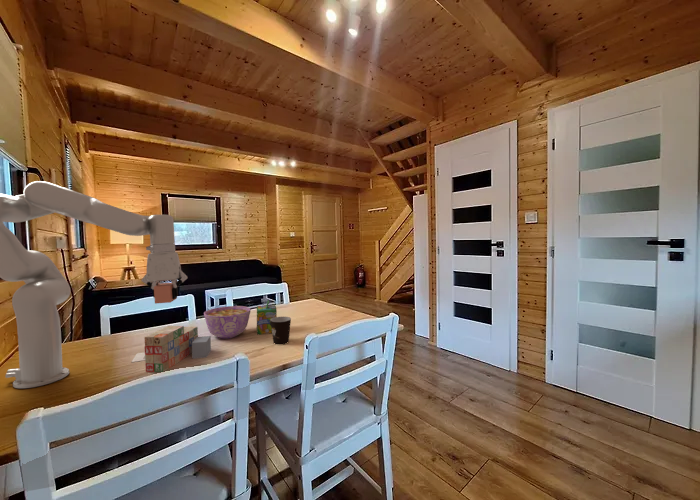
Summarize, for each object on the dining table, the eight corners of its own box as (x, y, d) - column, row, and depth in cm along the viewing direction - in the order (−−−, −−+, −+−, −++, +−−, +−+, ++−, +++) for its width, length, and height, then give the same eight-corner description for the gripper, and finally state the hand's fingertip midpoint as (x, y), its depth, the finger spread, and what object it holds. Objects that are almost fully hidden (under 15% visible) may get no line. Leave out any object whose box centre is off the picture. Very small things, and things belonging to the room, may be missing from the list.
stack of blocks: (184, 348, 123) (183, 319, 123) (198, 349, 123) (197, 319, 122) (145, 372, 102) (143, 336, 101) (162, 372, 101) (161, 336, 101)
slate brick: (192, 358, 113) (191, 342, 112) (197, 351, 120) (196, 336, 119) (206, 357, 114) (206, 341, 114) (210, 350, 121) (210, 335, 120)
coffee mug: (293, 344, 127) (292, 320, 127) (272, 346, 124) (271, 322, 124) (288, 335, 138) (287, 314, 138) (268, 338, 135) (268, 316, 134)
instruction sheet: (131, 362, 109) (131, 361, 109) (136, 353, 118) (136, 353, 118) (169, 356, 114) (169, 356, 114) (172, 348, 123) (172, 348, 123)
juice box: (256, 329, 148) (256, 299, 147) (275, 327, 151) (275, 298, 150) (256, 335, 139) (256, 303, 139) (277, 333, 142) (276, 302, 141)
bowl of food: (231, 345, 126) (230, 318, 126) (193, 340, 133) (193, 314, 132) (260, 331, 145) (259, 307, 145) (226, 327, 152) (225, 304, 151)
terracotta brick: (154, 303, 106) (153, 286, 105) (161, 299, 112) (160, 283, 112) (170, 302, 107) (169, 285, 107) (176, 298, 114) (175, 282, 113)
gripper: (131, 250, 103) (134, 303, 104) (186, 248, 107) (189, 299, 108) (140, 249, 110) (143, 298, 111) (191, 247, 114) (194, 295, 115)
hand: (166, 298), depth 110 cm, fingers closed on terracotta brick, 5 cm apart
